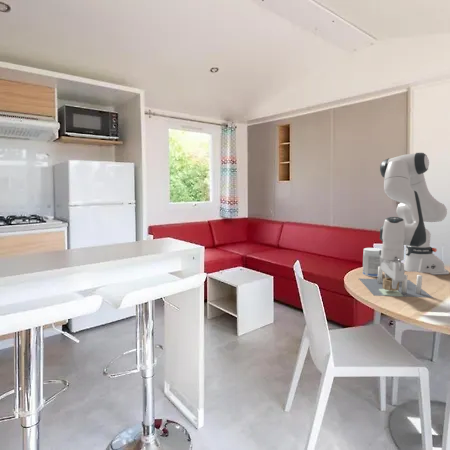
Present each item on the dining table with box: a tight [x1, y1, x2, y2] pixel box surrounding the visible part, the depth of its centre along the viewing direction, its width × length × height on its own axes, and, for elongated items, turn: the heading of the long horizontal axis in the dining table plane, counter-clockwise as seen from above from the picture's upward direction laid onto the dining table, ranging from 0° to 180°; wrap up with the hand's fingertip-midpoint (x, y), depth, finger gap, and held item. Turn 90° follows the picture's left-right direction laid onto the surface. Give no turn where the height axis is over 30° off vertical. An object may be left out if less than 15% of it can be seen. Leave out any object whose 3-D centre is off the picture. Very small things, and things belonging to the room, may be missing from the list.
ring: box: [382, 277, 399, 291], centre depth 148 cm, size 6×6×4 cm
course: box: [358, 266, 434, 299], centre depth 156 cm, size 24×26×9 cm
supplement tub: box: [362, 247, 382, 278], centre depth 178 cm, size 10×10×15 cm
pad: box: [379, 289, 403, 297], centre depth 148 cm, size 8×8×1 cm
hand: (390, 285), depth 148 cm, fingers closed on ring, 6 cm apart
